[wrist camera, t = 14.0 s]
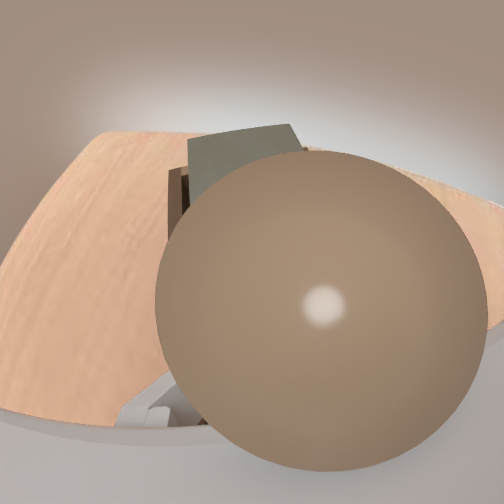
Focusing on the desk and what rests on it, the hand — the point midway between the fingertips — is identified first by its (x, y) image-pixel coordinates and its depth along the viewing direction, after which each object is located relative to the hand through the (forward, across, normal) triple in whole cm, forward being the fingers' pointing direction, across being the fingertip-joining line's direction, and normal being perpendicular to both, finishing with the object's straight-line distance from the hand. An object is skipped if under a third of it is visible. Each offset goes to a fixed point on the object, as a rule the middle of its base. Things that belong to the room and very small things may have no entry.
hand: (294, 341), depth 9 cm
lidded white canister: (+4, 0, +5) cm, 6 cm away
